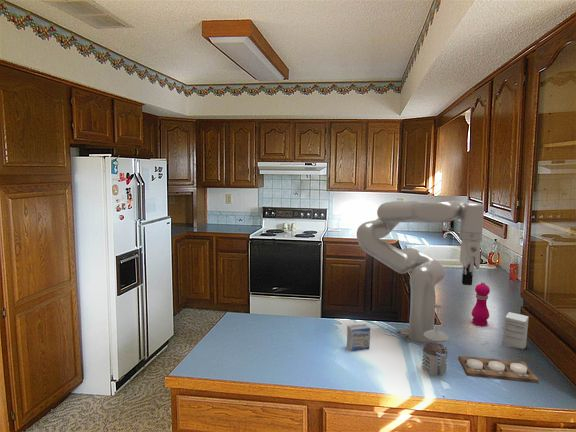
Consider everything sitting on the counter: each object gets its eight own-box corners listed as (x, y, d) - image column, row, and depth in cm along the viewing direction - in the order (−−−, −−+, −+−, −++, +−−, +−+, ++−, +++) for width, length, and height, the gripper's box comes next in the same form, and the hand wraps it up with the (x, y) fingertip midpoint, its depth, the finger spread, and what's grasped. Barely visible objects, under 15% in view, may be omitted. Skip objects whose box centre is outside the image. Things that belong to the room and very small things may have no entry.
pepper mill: (490, 327, 179) (494, 283, 176) (473, 326, 180) (476, 282, 177) (486, 321, 186) (489, 279, 183) (469, 319, 187) (472, 278, 184)
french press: (441, 366, 144) (446, 298, 141) (456, 384, 132) (461, 311, 129) (414, 366, 144) (418, 298, 140) (426, 384, 132) (431, 311, 129)
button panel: (466, 379, 135) (466, 371, 135) (458, 362, 147) (458, 355, 147) (538, 386, 131) (538, 379, 131) (523, 368, 143) (524, 361, 143)
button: (490, 376, 137) (491, 367, 137) (485, 368, 142) (486, 360, 142) (506, 377, 136) (507, 368, 136) (501, 370, 141) (502, 361, 141)
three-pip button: (468, 373, 138) (469, 365, 138) (464, 366, 143) (465, 358, 143) (484, 375, 138) (484, 366, 137) (479, 368, 142) (480, 359, 142)
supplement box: (505, 341, 165) (508, 311, 164) (526, 346, 161) (529, 316, 159) (501, 347, 160) (504, 316, 158) (523, 353, 155) (526, 321, 153)
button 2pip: (512, 378, 136) (513, 369, 136) (507, 370, 141) (508, 362, 140) (528, 379, 135) (529, 370, 135) (522, 372, 140) (523, 363, 140)
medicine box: (351, 351, 154) (351, 330, 153) (346, 346, 158) (347, 325, 157) (369, 349, 156) (370, 328, 155) (364, 344, 160) (365, 323, 159)
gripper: (487, 240, 140) (483, 291, 143) (475, 233, 155) (472, 279, 157) (464, 239, 142) (460, 289, 144) (455, 232, 156) (451, 278, 159)
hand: (466, 284), depth 151 cm, fingers closed
